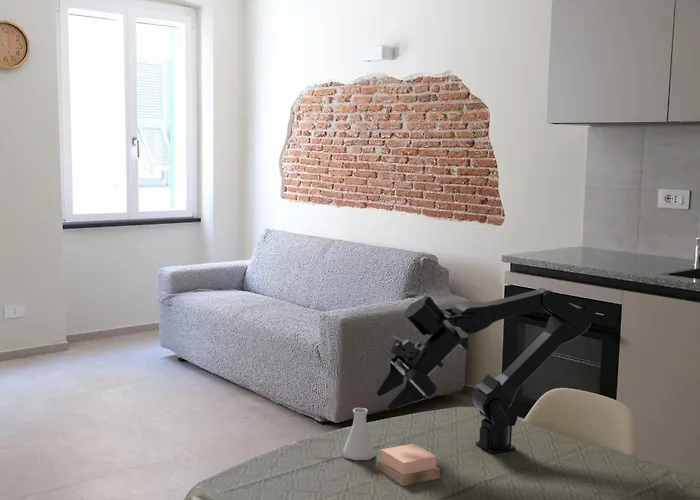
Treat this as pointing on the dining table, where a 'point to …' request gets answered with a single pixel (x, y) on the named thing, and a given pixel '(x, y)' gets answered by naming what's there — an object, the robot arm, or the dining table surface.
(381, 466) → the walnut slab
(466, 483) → the dining table surface
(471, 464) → the dining table surface
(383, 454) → the terracotta slab
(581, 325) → the robot arm
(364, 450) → the flask
